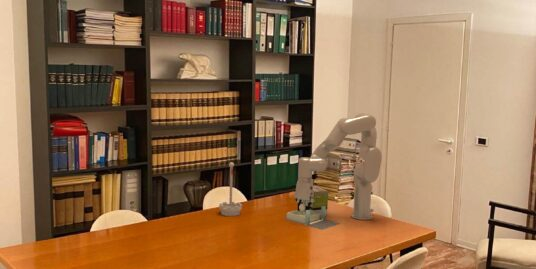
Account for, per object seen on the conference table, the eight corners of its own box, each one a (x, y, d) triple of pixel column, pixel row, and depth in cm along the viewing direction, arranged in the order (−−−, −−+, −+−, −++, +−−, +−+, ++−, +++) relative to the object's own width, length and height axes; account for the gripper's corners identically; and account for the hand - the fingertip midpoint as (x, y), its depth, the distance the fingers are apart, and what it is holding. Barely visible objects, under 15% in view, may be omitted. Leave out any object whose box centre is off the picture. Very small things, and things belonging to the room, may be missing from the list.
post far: (322, 219, 294) (323, 205, 293) (326, 220, 292) (326, 206, 291) (320, 220, 292) (320, 206, 291) (323, 221, 290) (324, 207, 289)
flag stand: (217, 211, 306) (217, 160, 302) (238, 210, 310) (239, 160, 306) (221, 217, 293) (222, 164, 290) (244, 215, 297) (245, 163, 294)
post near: (307, 224, 284) (307, 209, 283) (310, 225, 282) (311, 210, 281) (304, 225, 282) (304, 210, 281) (307, 226, 280) (308, 211, 279)
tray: (301, 214, 302) (302, 208, 302) (320, 219, 293) (320, 213, 293) (286, 218, 292) (286, 212, 292) (305, 223, 283) (305, 217, 283)
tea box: (300, 210, 311) (301, 186, 310) (314, 209, 316) (316, 185, 314) (312, 216, 298) (314, 191, 296) (327, 215, 302) (329, 190, 301)
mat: (302, 214, 304) (302, 213, 304) (340, 224, 286) (340, 223, 286) (283, 219, 292) (283, 218, 292) (321, 230, 273) (321, 229, 273)
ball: (302, 210, 296) (303, 201, 295) (309, 211, 292) (309, 203, 292) (297, 211, 292) (297, 203, 291) (304, 213, 289) (304, 204, 288)
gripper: (321, 181, 287) (319, 213, 289) (297, 176, 299) (296, 207, 301) (312, 183, 282) (311, 215, 284) (288, 178, 293) (287, 209, 295)
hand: (303, 211), depth 292 cm, fingers closed on ball, 4 cm apart
